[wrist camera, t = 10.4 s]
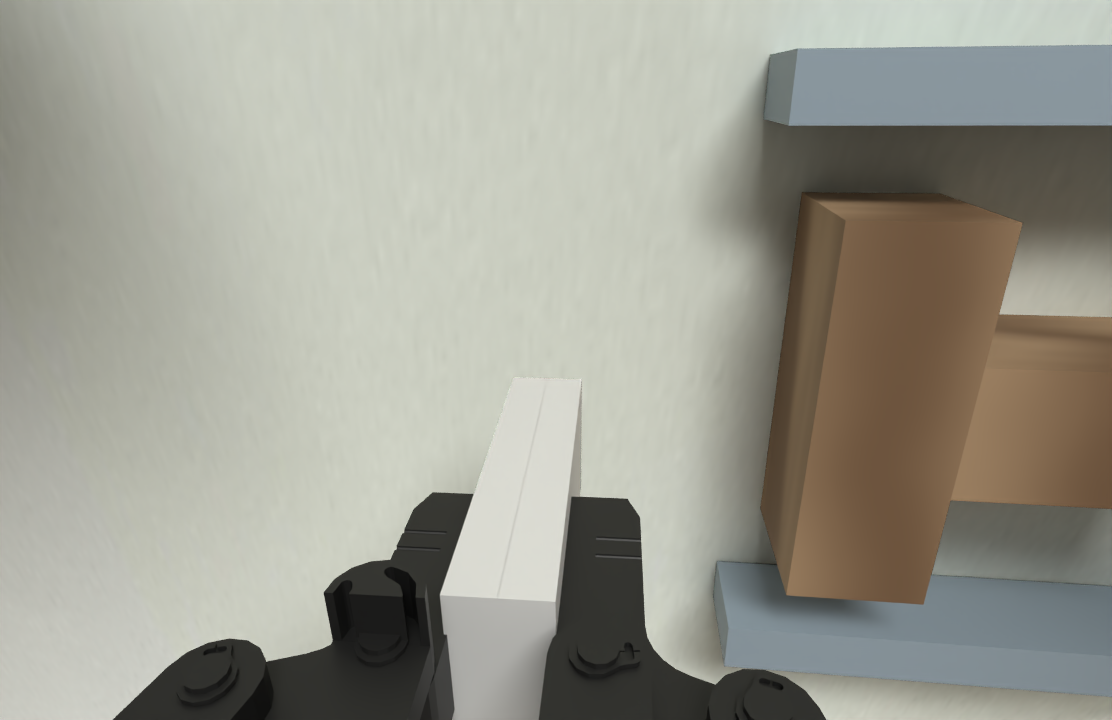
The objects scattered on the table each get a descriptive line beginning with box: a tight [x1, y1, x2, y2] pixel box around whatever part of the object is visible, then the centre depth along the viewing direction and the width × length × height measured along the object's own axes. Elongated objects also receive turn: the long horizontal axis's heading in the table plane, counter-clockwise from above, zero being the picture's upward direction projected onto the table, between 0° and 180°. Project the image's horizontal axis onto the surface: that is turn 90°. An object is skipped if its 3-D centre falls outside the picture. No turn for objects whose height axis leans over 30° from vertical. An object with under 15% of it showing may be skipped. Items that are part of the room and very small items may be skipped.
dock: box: [713, 45, 1112, 697], centre depth 18 cm, size 15×17×3 cm
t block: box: [760, 192, 1112, 605], centre depth 17 cm, size 10×10×4 cm
